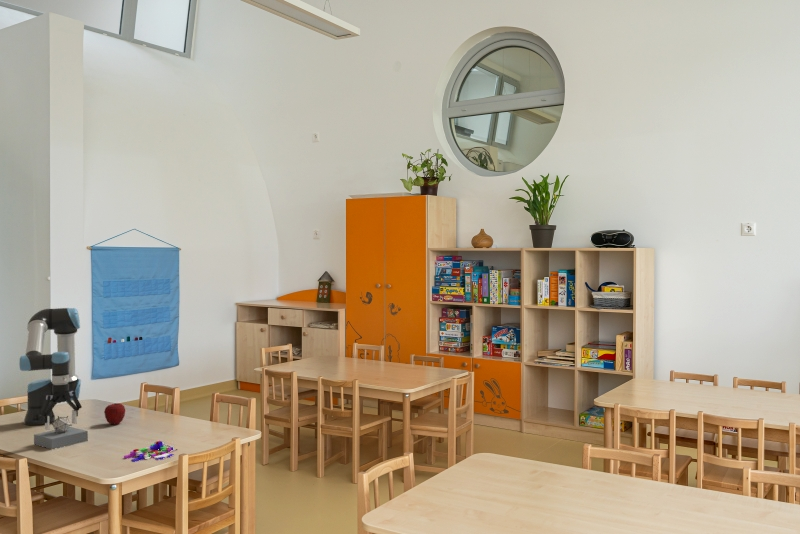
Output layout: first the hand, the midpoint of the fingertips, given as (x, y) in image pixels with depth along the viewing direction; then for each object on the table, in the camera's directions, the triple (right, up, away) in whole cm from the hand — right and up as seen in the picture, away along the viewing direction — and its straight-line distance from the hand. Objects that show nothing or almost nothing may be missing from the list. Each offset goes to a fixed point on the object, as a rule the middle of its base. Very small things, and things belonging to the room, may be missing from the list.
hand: (61, 426), depth 322 cm
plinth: (0, -8, 0) cm, 8 cm away
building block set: (+54, -9, -20) cm, 58 cm away
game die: (0, -3, 0) cm, 3 cm away
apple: (+10, -8, +37) cm, 40 cm away
